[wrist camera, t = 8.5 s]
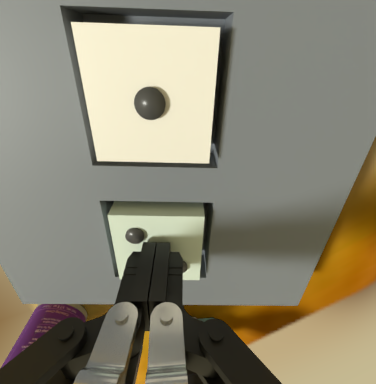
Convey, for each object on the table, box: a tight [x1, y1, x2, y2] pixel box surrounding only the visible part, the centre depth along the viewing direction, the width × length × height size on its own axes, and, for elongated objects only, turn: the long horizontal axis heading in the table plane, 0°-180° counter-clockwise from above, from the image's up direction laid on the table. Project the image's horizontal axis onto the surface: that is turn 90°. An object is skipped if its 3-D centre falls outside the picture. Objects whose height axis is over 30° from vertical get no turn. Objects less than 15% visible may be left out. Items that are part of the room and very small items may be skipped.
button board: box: [0, 0, 376, 306], centre depth 11 cm, size 28×20×3 cm
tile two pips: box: [108, 201, 205, 280], centre depth 14 cm, size 5×5×3 cm
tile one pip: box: [71, 22, 220, 164], centre depth 10 cm, size 5×5×3 cm
